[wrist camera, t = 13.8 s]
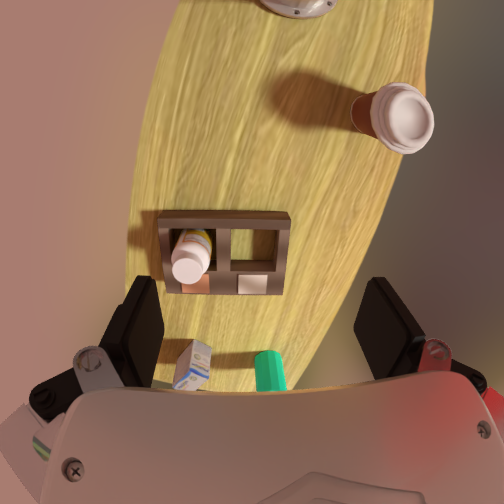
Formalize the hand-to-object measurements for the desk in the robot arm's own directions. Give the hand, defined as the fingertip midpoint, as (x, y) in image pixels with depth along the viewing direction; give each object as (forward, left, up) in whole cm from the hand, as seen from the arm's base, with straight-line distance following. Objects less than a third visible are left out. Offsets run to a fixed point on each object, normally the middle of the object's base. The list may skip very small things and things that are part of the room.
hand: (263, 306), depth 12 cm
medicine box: (+38, -10, -31) cm, 50 cm away
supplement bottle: (+11, -7, -31) cm, 33 cm away
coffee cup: (-10, +18, -31) cm, 37 cm away
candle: (+40, +6, -31) cm, 51 cm away
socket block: (+13, -3, -30) cm, 33 cm away
